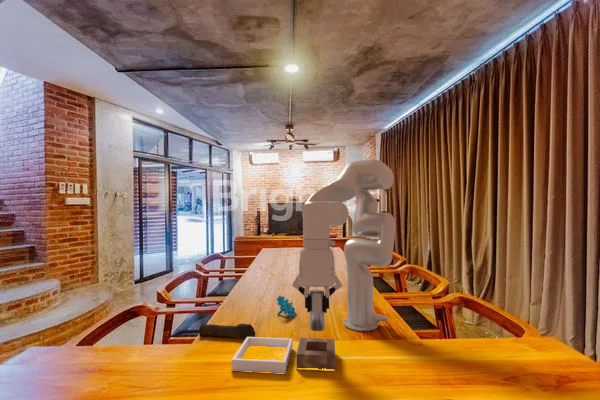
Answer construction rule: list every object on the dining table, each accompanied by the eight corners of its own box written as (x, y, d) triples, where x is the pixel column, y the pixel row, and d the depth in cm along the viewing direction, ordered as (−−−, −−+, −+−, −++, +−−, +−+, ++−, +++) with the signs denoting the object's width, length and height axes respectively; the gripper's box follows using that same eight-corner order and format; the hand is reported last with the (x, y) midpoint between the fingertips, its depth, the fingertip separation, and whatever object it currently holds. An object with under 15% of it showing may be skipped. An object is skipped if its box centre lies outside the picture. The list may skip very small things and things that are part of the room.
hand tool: (197, 338, 92) (197, 323, 92) (204, 333, 96) (204, 319, 96) (251, 343, 88) (252, 328, 89) (256, 338, 92) (256, 323, 92)
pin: (324, 325, 80) (324, 289, 80) (324, 331, 76) (324, 293, 76) (310, 325, 80) (310, 289, 80) (309, 330, 76) (309, 293, 76)
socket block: (334, 353, 81) (334, 339, 82) (335, 372, 71) (335, 356, 72) (300, 351, 82) (300, 337, 83) (296, 370, 72) (296, 354, 73)
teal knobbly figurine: (290, 317, 106) (275, 295, 110) (280, 327, 107) (265, 305, 111) (301, 312, 116) (286, 293, 120) (291, 321, 117) (277, 302, 121)
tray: (292, 348, 84) (292, 338, 84) (285, 374, 70) (285, 362, 70) (247, 346, 85) (247, 336, 86) (231, 371, 72) (231, 359, 72)
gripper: (345, 243, 82) (346, 307, 81) (288, 243, 84) (289, 305, 83) (347, 246, 74) (348, 316, 73) (285, 246, 76) (285, 315, 75)
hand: (317, 310), depth 78 cm, fingers closed on pin, 4 cm apart
